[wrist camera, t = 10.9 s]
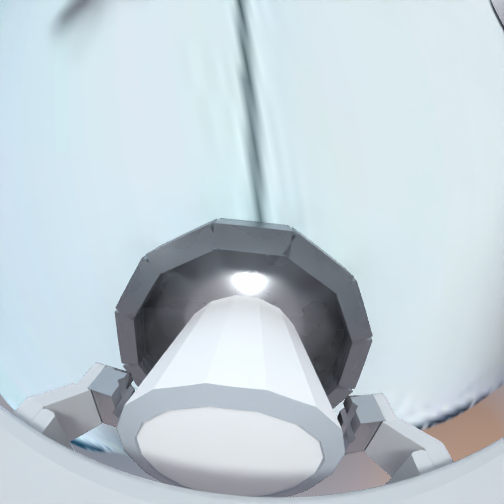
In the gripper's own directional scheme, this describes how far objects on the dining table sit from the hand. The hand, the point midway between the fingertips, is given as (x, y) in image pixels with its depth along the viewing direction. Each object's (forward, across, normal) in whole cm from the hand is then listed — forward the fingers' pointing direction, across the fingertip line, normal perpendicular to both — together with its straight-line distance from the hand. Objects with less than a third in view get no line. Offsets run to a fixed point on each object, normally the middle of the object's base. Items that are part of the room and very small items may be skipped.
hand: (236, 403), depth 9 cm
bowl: (+5, 0, 0) cm, 5 cm away
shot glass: (+4, 0, 0) cm, 4 cm away
